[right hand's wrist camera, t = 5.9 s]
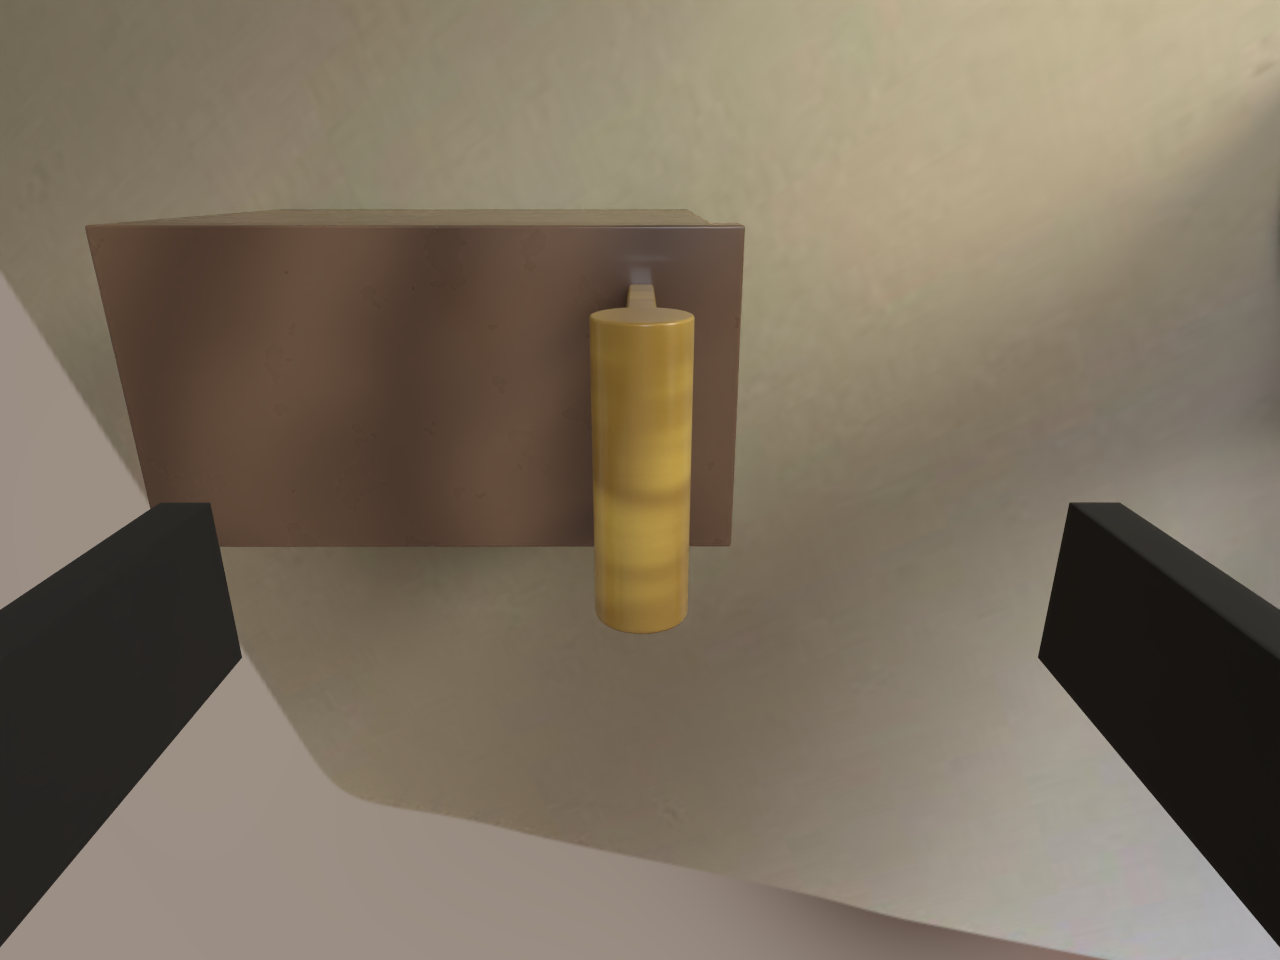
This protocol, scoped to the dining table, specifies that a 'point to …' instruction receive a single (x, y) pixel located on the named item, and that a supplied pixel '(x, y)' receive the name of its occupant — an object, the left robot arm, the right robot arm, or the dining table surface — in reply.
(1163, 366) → the dining table surface
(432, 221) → the chest
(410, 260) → the lid
